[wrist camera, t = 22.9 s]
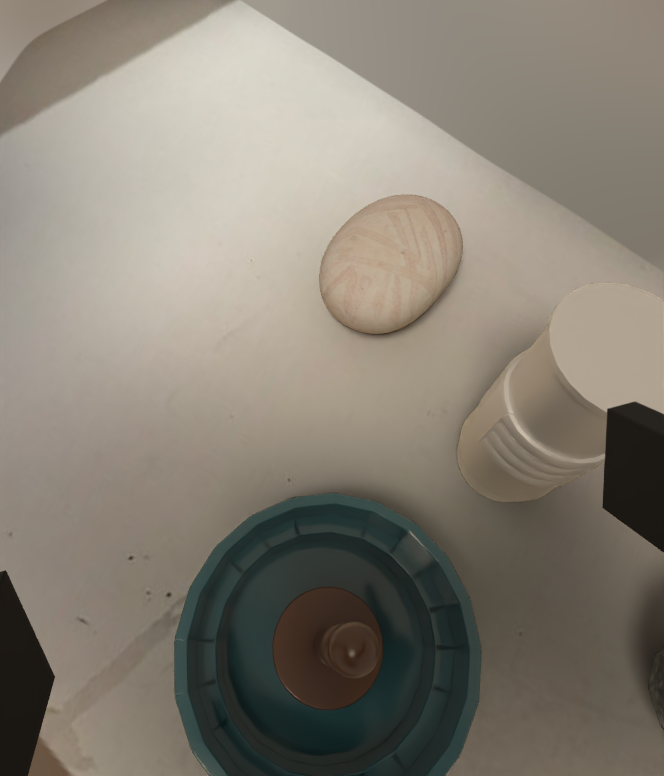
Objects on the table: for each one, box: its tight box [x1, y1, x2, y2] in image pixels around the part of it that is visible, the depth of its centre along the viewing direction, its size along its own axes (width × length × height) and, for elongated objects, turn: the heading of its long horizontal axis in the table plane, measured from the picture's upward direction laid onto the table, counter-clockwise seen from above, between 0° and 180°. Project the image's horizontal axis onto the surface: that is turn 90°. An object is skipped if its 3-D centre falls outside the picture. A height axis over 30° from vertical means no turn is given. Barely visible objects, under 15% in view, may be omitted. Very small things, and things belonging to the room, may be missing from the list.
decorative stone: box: [319, 195, 463, 334], centre depth 39 cm, size 13×9×5 cm
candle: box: [457, 282, 664, 503], centre depth 29 cm, size 7×7×15 cm
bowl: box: [174, 493, 482, 776], centre depth 27 cm, size 14×14×6 cm
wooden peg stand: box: [272, 587, 383, 710], centre depth 22 cm, size 6×6×15 cm
